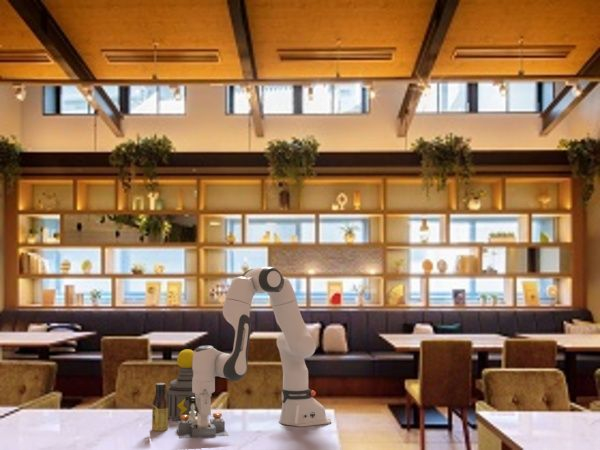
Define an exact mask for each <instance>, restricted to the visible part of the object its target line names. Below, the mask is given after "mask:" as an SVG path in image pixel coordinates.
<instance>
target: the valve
mask: <svg viewBox="0 0 600 450" xmlns="http://www.w3.org/2000/svg"><path fill="white" fill-rule="evenodd" d="M185 399H186V400H187V399H188V401H189V403H191V404H192V406H191V412H189V415H190V418H189V419H188V420H191V422H192V424H197V416H195V415H196V412H195V410H194V409H195V406H194V403H196V400H195V396H189V397H185Z"/></svg>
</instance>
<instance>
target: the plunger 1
mask: <svg viewBox="0 0 600 450" xmlns="http://www.w3.org/2000/svg"><path fill="white" fill-rule="evenodd" d="M189 418H190V415H181V416H180V419H182V423H188V419H189Z"/></svg>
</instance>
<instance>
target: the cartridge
mask: <svg viewBox="0 0 600 450" xmlns="http://www.w3.org/2000/svg"><path fill="white" fill-rule="evenodd" d="M209 417H210V416H207V420H206V425H202V424H201V420H202V416H201V414H200V412H199V413H197V423H196V424H197V428H208V427H209V423H210V419H209Z"/></svg>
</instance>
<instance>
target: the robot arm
mask: <svg viewBox="0 0 600 450" xmlns="http://www.w3.org/2000/svg"><path fill="white" fill-rule="evenodd" d="M265 293H267V295H268V296H269V299H270V302H271V307H272V310H273V314H274V317H275V321H276V325H278V326H279V328H280V330H281V333H280V334H278V335H277V338H276V346H277V348H278V352H279V356H280V361H281V366H282V367H281V368H282V388H281V402H282V405H281V412H280V417H279V420H278V422H279V423H280V424H282V425H286V426H287V425H288V426H295V427H309V426H318V425H319V426H320V425H326V424H331V423H332V419H331V417H329V416H327V414H326V409H325V407H324V405H322V404H321V403H320V402H319V401H317V400H316V399H315V398H314V396H316V393H317V392H316V391H315V390H313V389H310V388H309V369H308V367H307V365H306V361H305V359H307V358H311V356H313V355H314V353H315V352H316V349H317V343H316V340H315V338H313V337H312V335H311V334H310V332H309V329H308V327H307V325H306V323H305V321H304V319H303V316H302V314H301V311H300V307H299V304H298V301H297V296H296V294H295V291H294V288H293V286H292V283H291V282H290V280H289V279H288V278H287V277H284V276H283V275H282V273H281V272H280V271H279V269H277V268H276V267H273V266H261V267H257V268H251V269H248V270H247V271H245V272H244V273H243V274H242V276H236V277H234V279H232V281H231V283H230V285H229V288H228V289H227V292H226V295H225V299H224V303H223V305H222V316H223V318H224V319H225V321H226V322H227V323H229V324H230V325H231V326H232V327H233V329H234V334H235V335H234V341H233V347H232V348H233V349H232V351H231V353H227V352H222V351H220V350H217V348H214V346H213V345H207V344H205V345H200V346H198V347H196V348H195V349H194V350H193V351H194V354H193V365H192V369H193V379H192V392H193V393H195V400H196V406H197V408H198V410H199V412H200V414H201V416H202V420H201V424H202V425H206V420H207V416H209V417H210V416H211V411H212V407H211V405H212V404H211V397H212V394H213V393H215V390H216V386H215V385H216V383H215V382H216V381H215V380H216V377H220V378H225V379H228V380H231V381H233V382H238V381H241V380H242V379H243V378H244V377H245V375H246V374H247V372H248V366H249V365H248V362H249V361H248V355H249V353H248V352H249V347H250V338H251V332H252V331H251V330H252V321H251V318H250V313H251V306H252V303H253V302H252V301H253V298H254V297H255V295H256V294H265Z"/></svg>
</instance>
